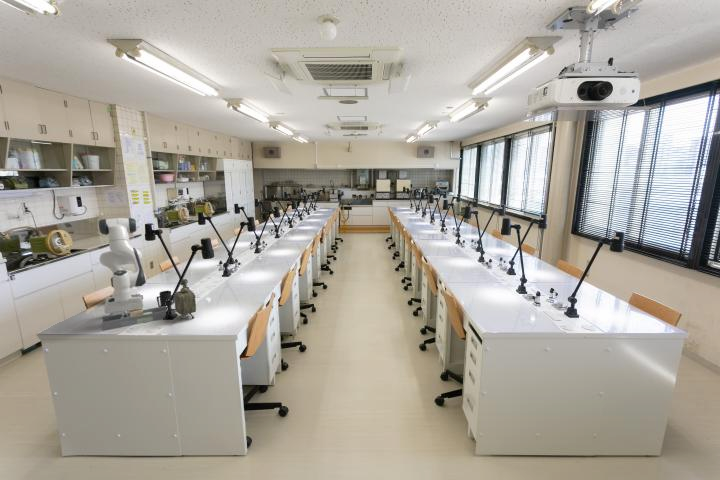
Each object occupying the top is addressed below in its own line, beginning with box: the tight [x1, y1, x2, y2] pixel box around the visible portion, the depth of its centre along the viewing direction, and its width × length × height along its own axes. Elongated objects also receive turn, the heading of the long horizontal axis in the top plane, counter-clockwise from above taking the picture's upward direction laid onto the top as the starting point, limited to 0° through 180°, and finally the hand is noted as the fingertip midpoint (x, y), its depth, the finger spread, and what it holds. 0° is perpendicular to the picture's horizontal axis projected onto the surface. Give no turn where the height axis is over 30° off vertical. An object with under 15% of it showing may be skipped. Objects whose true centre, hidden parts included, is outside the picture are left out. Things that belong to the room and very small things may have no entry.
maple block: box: [130, 307, 144, 317], centre depth 214 cm, size 5×7×4 cm
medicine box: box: [109, 310, 127, 316], centre depth 224 cm, size 8×4×9 cm, turn 141°
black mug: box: [156, 290, 172, 307], centre depth 235 cm, size 10×7×12 cm
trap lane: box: [101, 306, 167, 331], centre depth 214 cm, size 10×35×5 cm, turn 126°
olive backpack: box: [173, 280, 197, 319], centre depth 219 cm, size 14×9×25 cm, turn 44°
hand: (125, 317), depth 211 cm, fingers closed
